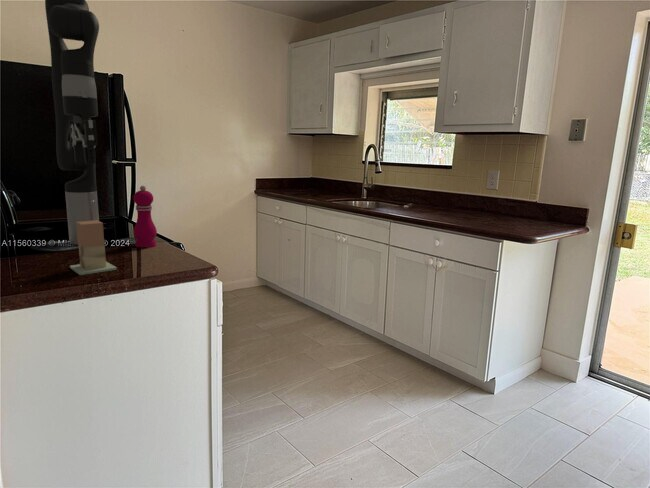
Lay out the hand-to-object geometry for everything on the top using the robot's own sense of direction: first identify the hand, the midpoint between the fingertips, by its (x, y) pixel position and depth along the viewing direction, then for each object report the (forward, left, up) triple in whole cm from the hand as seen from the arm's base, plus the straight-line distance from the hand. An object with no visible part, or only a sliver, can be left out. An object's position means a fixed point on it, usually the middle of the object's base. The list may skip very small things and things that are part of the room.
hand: (85, 162), depth 114 cm
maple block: (0, 0, -28) cm, 28 cm away
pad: (0, 0, -28) cm, 28 cm away
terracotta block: (0, 0, -22) cm, 22 cm away
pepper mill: (-19, +22, -28) cm, 41 cm away
